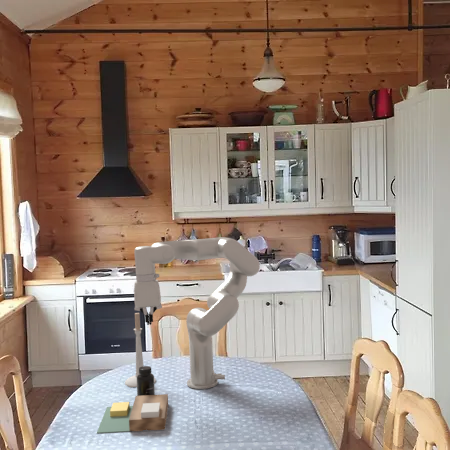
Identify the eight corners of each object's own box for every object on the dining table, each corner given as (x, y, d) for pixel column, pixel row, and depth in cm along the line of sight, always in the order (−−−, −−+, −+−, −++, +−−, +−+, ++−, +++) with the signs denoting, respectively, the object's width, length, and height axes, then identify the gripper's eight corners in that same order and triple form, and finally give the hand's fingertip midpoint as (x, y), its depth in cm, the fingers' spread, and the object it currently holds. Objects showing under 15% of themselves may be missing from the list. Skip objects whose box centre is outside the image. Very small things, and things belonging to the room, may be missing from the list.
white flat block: (160, 408, 207) (160, 402, 207) (158, 417, 199) (158, 411, 199) (143, 408, 207) (143, 403, 207) (141, 418, 199) (140, 412, 199)
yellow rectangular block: (113, 402, 218) (113, 407, 219) (109, 411, 211) (110, 416, 211) (129, 401, 219) (129, 407, 219) (126, 410, 211) (127, 415, 211)
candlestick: (120, 381, 248) (116, 312, 245) (147, 375, 255) (144, 307, 252) (132, 390, 237) (129, 317, 235) (161, 383, 244) (157, 312, 242)
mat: (139, 406, 220) (139, 405, 220) (132, 431, 198) (132, 430, 198) (107, 407, 220) (106, 407, 220) (96, 433, 198) (96, 432, 198)
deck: (168, 404, 221) (167, 394, 220) (165, 429, 199) (164, 418, 199) (136, 406, 220) (135, 395, 220) (129, 431, 198) (128, 420, 198)
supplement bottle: (151, 401, 224) (150, 371, 223) (134, 400, 226) (133, 370, 225) (157, 394, 231) (155, 365, 230) (140, 394, 232) (139, 364, 231)
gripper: (165, 274, 232) (168, 320, 234) (127, 277, 231) (130, 323, 233) (165, 278, 225) (168, 324, 227) (126, 281, 223) (129, 328, 225)
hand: (149, 323), depth 230 cm, fingers closed
